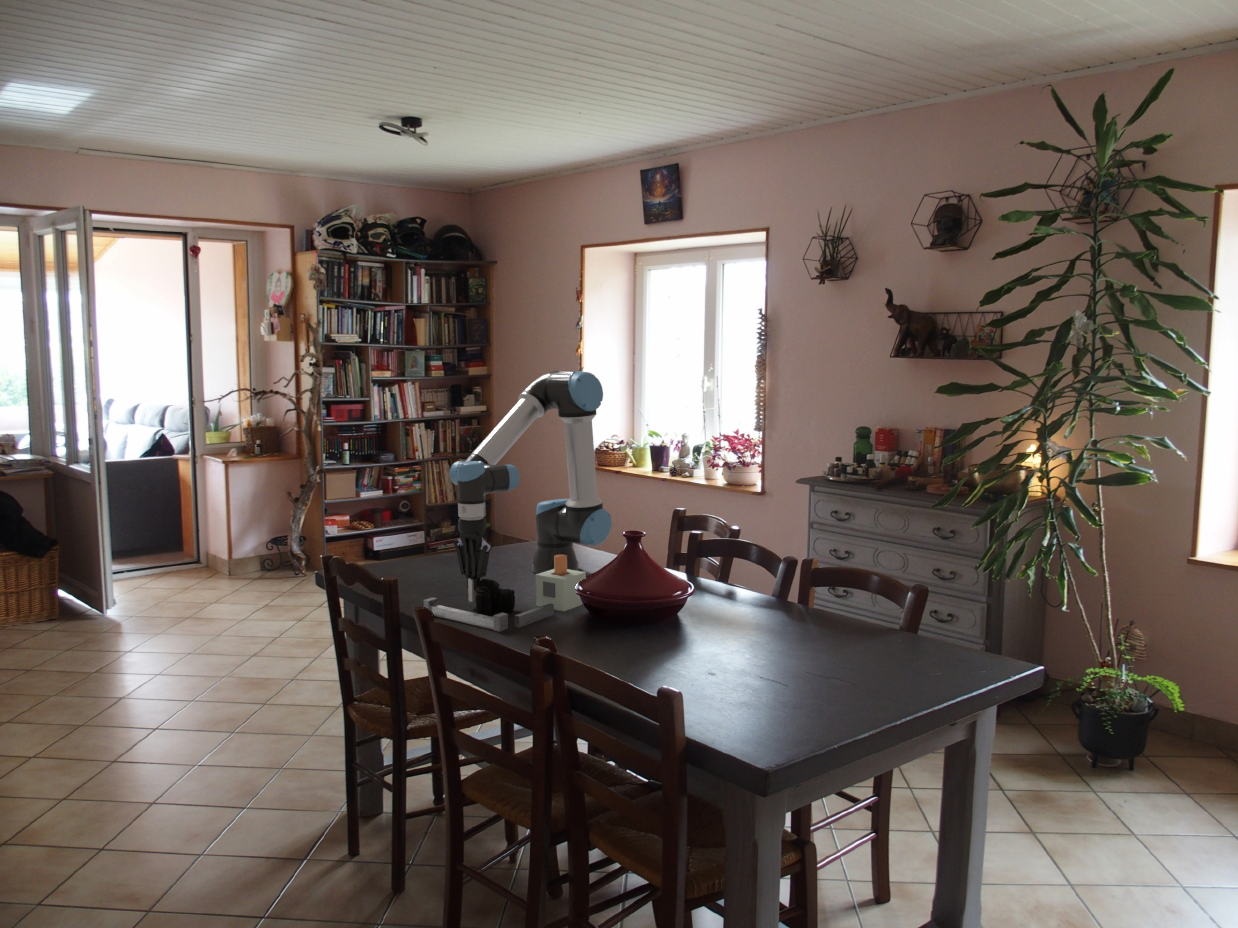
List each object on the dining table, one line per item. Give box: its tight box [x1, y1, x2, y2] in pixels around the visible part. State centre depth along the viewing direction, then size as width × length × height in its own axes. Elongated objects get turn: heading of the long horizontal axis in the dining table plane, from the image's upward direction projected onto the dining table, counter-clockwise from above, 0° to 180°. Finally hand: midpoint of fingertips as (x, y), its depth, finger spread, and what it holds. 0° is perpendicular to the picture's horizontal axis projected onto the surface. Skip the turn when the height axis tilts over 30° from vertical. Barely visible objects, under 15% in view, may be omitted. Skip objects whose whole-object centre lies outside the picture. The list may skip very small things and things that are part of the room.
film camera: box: [475, 578, 516, 617], centre depth 259 cm, size 15×10×9 cm, turn 177°
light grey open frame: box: [423, 597, 555, 633], centre depth 257 cm, size 20×30×4 cm, turn 54°
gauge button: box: [554, 555, 567, 576], centre depth 265 cm, size 4×4×6 cm
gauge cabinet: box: [535, 569, 587, 612], centre depth 266 cm, size 10×10×9 cm
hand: (473, 600), depth 264 cm, fingers closed
